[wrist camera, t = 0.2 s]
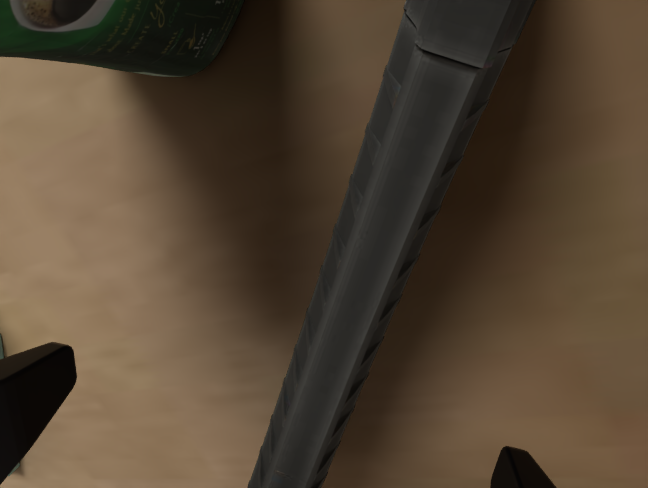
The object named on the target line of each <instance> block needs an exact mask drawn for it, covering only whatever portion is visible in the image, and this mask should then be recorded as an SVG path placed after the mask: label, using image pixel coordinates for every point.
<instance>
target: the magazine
mask: <svg viewBox="0 0 648 488" xmlns="http://www.w3.org/2000/svg"><path fill="white" fill-rule="evenodd" d="M535 1H536V0H406V2H405V5H404V10H405V11H404V14H403V17H402V20H401V24H400V27H399V30H398V33H397V36H396V39H395V42H394V46H393V49H392V52H391V55H390V58H389V61H388V65H386V67H385V70H384V74H383V80H382V83H381V87H380V90H379V93H378V96H377V99H376V102H375V105H374V108H373V112H372V115H371V118H370V121H369V123H368V124H367V127H366V130H365V137H364V140H363V143H362V146H361V149H360V152H359V155H358V158H357V162H356V165H355V168H354V171H353V174H351V177H350V180H349V186H348V189H347V192H346V196H345V199H344V202H343V205H342V208H341V211H340V214H339V217H338V220H337V223H336V224H335V226H334V230H333V235H332V239H331V242H330V245H329V248H328V251H327V254H326V257H325V260H324V263H323V265H322V266H321V269H320V275H319V278H318V281H317V284H316V287H315V290H314V293H313V296H312V299H311V302H310V305H309V308H308V309H307V312H306V318H305V321H304V324H303V327H302V330H301V332H300V335H299V338H298V341H297V344H296V345H295V348H294V353H293V356H292V359H291V362H290V365H289V368H288V371H287V374H286V377H285V378H284V381H283V386H282V389H281V392H280V395H279V398H278V401H277V404H276V407H275V410H274V413H273V414H272V417H271V420H270V425H269V428H268V431H267V434H266V436H265V439H264V442H263V445H262V446H261V449H260V454H259V457H258V460H257V463H256V466H255V468H254V471H253V474H252V477H251V480H250V481H249V484H248V488H321V487H322V484H323V482H324V480H325V478H326V476H327V474H328V469H329V467H330V464H331V462H332V459H333V457H334V454H335V452H336V449H337V448H338V446H339V444H340V439H341V437H342V435H343V432H344V430H345V427H346V425H347V422H348V420H349V417H350V415H351V413H352V412H353V410H354V408H355V403H356V401H357V398H358V396H359V393H360V391H361V389H362V386H363V384H364V381H365V380H366V378H367V376H368V374H369V369H370V367H371V365H372V362H373V360H374V358H375V355H376V353H377V350H378V348H379V346H380V344H381V343H382V341H383V338H384V334H385V331H386V329H387V327H388V324H389V322H390V320H391V317H392V315H393V313H394V310H395V308H396V306H397V304H398V302H399V301H400V299H401V296H402V292H403V289H404V287H405V285H406V283H407V280H408V278H409V276H410V273H411V271H412V269H413V267H414V264H415V263H416V262H417V260H418V257H419V255H420V254H419V253H420V251H421V248H422V246H423V244H424V241H425V239H426V237H427V235H428V232H429V230H430V228H431V226H432V223H433V221H434V219H435V216H436V215H437V214H438V212H439V210H440V208H441V203H442V201H443V198H444V196H445V194H446V192H447V190H448V187H449V185H450V183H451V181H452V178H453V176H454V174H455V172H456V170H457V167H458V166H459V165H460V163H461V161H462V159H463V157H464V155H463V154H464V152H465V150H466V147H467V145H468V143H469V141H470V139H471V136H472V134H473V132H474V130H475V128H476V125H477V123H478V121H479V119H480V117H481V114H482V112H483V111H484V110H485V108H486V106H487V104H488V102H489V100H490V99H489V97H490V95H491V92H492V90H493V88H494V86H495V84H496V82H497V79H498V77H499V75H500V73H501V71H502V69H503V66H504V64H505V62H506V60H507V58H508V55H509V53H510V51H511V49H512V47H513V45H514V44H516V42H517V40H518V38H519V36H520V34H521V32H522V29H523V27H524V25H525V23H526V21H527V19H528V16H529V14H530V12H531V10H532V8H533V6H534V4H535Z"/></svg>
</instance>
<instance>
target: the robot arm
mask: <svg viewBox="0 0 648 488" xmlns="http://www.w3.org/2000/svg"><path fill="white" fill-rule="evenodd" d="M76 378H77V373H76V366H75V358H74V351H73V349H72V347H71V346H69V345H65V344H61V343H57V342H51V343H47V344H44V345H41V346H38V347H35V348H32V349H30V350H27V351H24V352H21V353H18V354H15V355H12V356H9V357H6V358H3V359H0V485H1V483H2V482H3V481H4V480H5V479H6V477H7V476H8V475H9V474H10V473H11V471H12V470H13V469H14V468H15V467H16V466H17V464H18V463H19V462H20V461H21V460H22V458H23V457H24V456H25V455H26V453H27V452H28V451H29V450H30V448H31V447H32V445H33V444H34V443H35V441H36V440H37V439H38V437H39V436H40V434H41V433H42V432H43V430H44V429H45V427H46V426H47V424H48V423H49V422H50V420H51V419H52V417H53V416H54V414H55V413H56V412H57V410H58V409H59V407H60V406H61V404H62V403H63V402H64V400H65V399H66V397H67V396H68V395H69V393H70V392H71V390H72V389H73V387H74V385H75V383H76ZM490 488H556V486H555V485H554V484H553V483H552V481H551V480H550V479H549V478H548V476H547V475H546V474H545V473H544V471H543V470H542V469H541V468H540V466H539V465H538V464H537V463H536V461H535V460H534V459H533V458H532V456H531V455H530V454H529V453H528V452H527V451H525V450H522V449H518V448H514V447H509V446H505V447H503V448H502V450H501V452H500V455H499V458H498V460H497V463H496V466H495V469H494V472H493V474H492V478H491V486H490Z"/></svg>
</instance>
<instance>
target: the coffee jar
mask: <svg viewBox="0 0 648 488" xmlns="http://www.w3.org/2000/svg"><path fill="white" fill-rule="evenodd" d="M243 2H244V0H0V57H22V58H31V59H41V60H51V61H59V62H67V63H77V64H84V65H91V66H97V67H103V68H108V69H114V70H120V71H126V72H133V73H139V74H146V75H152V76H165V77H184V76H190V75H193V74H196V73H198V72H200V71H201V70H203V69H205V68H206V67H207V66H208V65H209V64H210V63H211V62H212V61H213V60H214V59H215V57H216V56H217V54H218V53H219V52H220V50H221V48H222V46H223V44H224V42H225V41H226V39H227V37H228V35H229V33H230V31H231V29H232V28H233V25H234V23H235V21H236V19H237V17H238V15H239V13H240V10H241V7H242V5H243Z"/></svg>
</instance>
